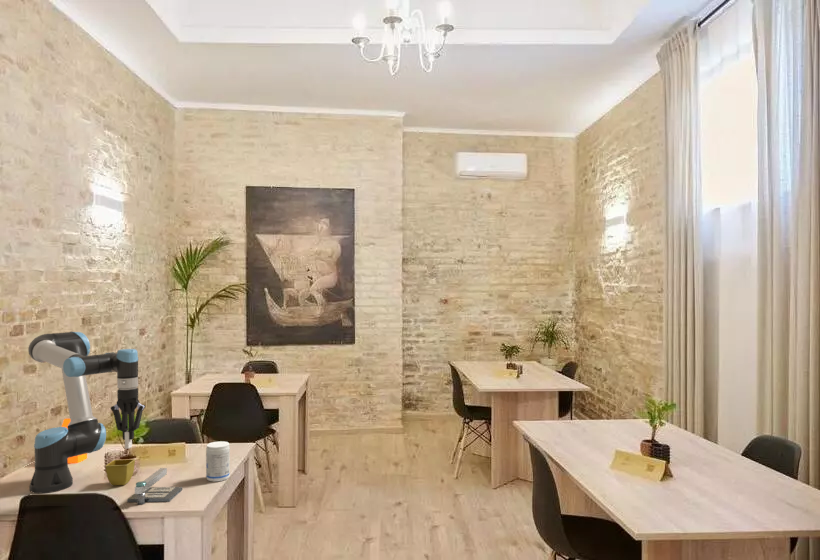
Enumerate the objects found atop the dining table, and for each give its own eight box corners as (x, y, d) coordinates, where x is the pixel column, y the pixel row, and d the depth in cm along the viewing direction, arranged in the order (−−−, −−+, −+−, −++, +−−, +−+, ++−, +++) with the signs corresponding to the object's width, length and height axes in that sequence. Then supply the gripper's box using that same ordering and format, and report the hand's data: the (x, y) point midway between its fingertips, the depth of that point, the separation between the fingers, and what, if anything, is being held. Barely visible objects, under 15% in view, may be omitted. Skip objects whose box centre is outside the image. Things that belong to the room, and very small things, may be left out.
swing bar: (143, 493, 220) (142, 485, 220) (133, 494, 220) (133, 485, 220) (168, 474, 243) (168, 466, 243) (159, 474, 243) (159, 466, 243)
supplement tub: (205, 476, 253) (205, 442, 253) (228, 473, 257) (228, 440, 257) (207, 483, 244) (207, 448, 244) (231, 480, 248) (230, 445, 248)
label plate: (127, 502, 224) (127, 498, 224) (142, 490, 237) (142, 486, 237) (169, 501, 224) (169, 497, 224) (182, 489, 237) (182, 486, 237)
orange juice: (69, 458, 283) (69, 416, 284) (87, 458, 283) (87, 416, 283) (59, 463, 276) (58, 420, 276) (77, 463, 275) (77, 420, 275)
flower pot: (114, 480, 250) (114, 459, 250) (135, 480, 250) (135, 458, 250) (105, 487, 241) (105, 465, 241) (127, 487, 241) (127, 465, 241)
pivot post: (135, 504, 221) (135, 494, 221) (139, 502, 224) (139, 491, 224) (143, 504, 221) (143, 494, 221) (146, 502, 224) (146, 491, 224)
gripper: (106, 390, 230) (107, 450, 230) (139, 389, 230) (140, 450, 230) (116, 386, 238) (116, 445, 237) (148, 386, 238) (149, 444, 237)
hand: (128, 447), depth 234 cm, fingers closed
